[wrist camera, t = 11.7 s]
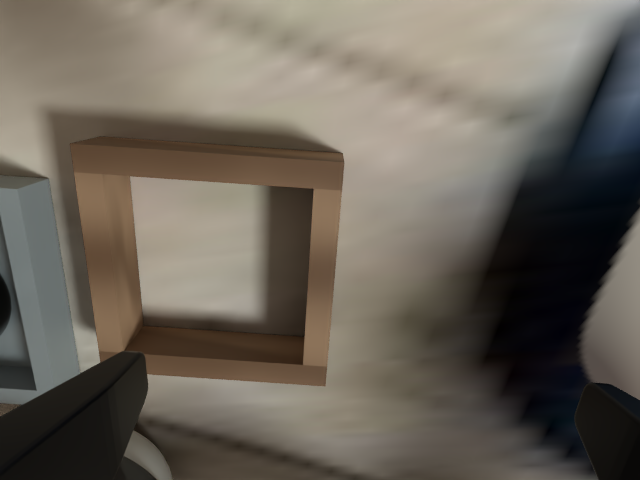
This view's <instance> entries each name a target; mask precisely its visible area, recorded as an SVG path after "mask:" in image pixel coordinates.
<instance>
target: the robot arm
mask: <svg viewBox="0 0 640 480" xmlns="http://www.w3.org/2000/svg"><path fill="white" fill-rule="evenodd" d="M147 391H148V379H147V368H146V359H145V355H144V354H143V353H142V352H137V351H121V352H119V353H117V354H116V355H114V356H112V357H110V358H108V359H106V360H104V361H103V362H101V363H99V364H97V365H95V366H93V367H91V368H90V369H88V370H86V371H84V372H82V373H80V374H78V375H77V376H75V377H73V378H71V379H69V380H67V381H65V382H64V383H62V384H60V385H58V386H56V387H54V388H52V389H51V390H49V391H47V392H45V393H43V394H41V395H39V396H38V397H36V398H34V399H32V400H30V401H28V402H26V403H25V404H23V405H21V406H19V407H17V408H15V409H13V410H12V411H10V412H8V413H6V414H4V415H2V416H0V480H113V479H114V477H115V475H116V473H117V471H118V468H119V466H120V463H121V461H122V459H123V456H124V454H125V451H126V448H127V446H128V443H129V441H130V438H131V435H132V433H133V430H134V428H135V425H136V422H137V420H138V417H139V415H140V412H141V409H142V407H143V404H144V402H145V399H146V396H147ZM575 424H576V428H577V430H578V433H579V435H580V437H581V440H582V442H583V444H584V447H585V449H586V451H587V454H588V456H589V458H590V461H591V463H592V465H593V468H594V470H595V472H596V475H597V477H598V479H599V480H640V400H638V399H637V398H635V397H633V396H631V395H629V394H628V393H626V392H624V391H622V390H620V389H619V388H617V387H615V386H613V385H611V384H604V383H588V384H587V385H586V386H585V387H584V390H583V392H582V395H581V398H580V401H579V404H578V407H577V410H576V413H575Z"/></svg>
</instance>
